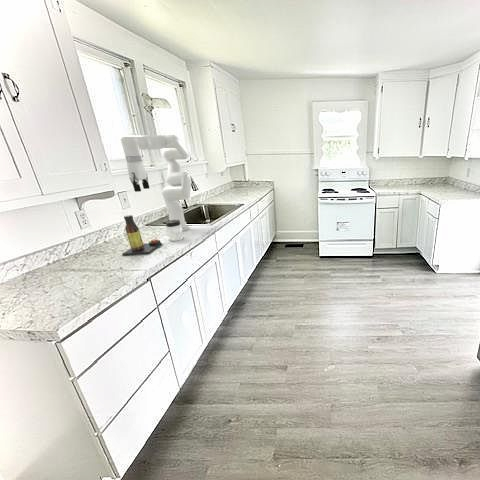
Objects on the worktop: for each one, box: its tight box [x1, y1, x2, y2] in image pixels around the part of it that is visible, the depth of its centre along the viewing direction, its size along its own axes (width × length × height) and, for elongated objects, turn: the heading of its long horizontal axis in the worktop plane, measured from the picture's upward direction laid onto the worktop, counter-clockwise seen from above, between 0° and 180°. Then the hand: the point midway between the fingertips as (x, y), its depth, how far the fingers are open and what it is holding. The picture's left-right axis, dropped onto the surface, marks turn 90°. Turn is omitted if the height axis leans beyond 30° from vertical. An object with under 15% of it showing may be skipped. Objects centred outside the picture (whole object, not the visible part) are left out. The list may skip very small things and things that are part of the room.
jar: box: [165, 219, 184, 242], centre depth 170 cm, size 9×8×12 cm
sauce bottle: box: [123, 214, 144, 250], centre depth 149 cm, size 6×6×20 cm
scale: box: [121, 239, 163, 257], centre depth 154 cm, size 16×14×3 cm
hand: (142, 189), depth 153 cm, fingers open, 9 cm apart
